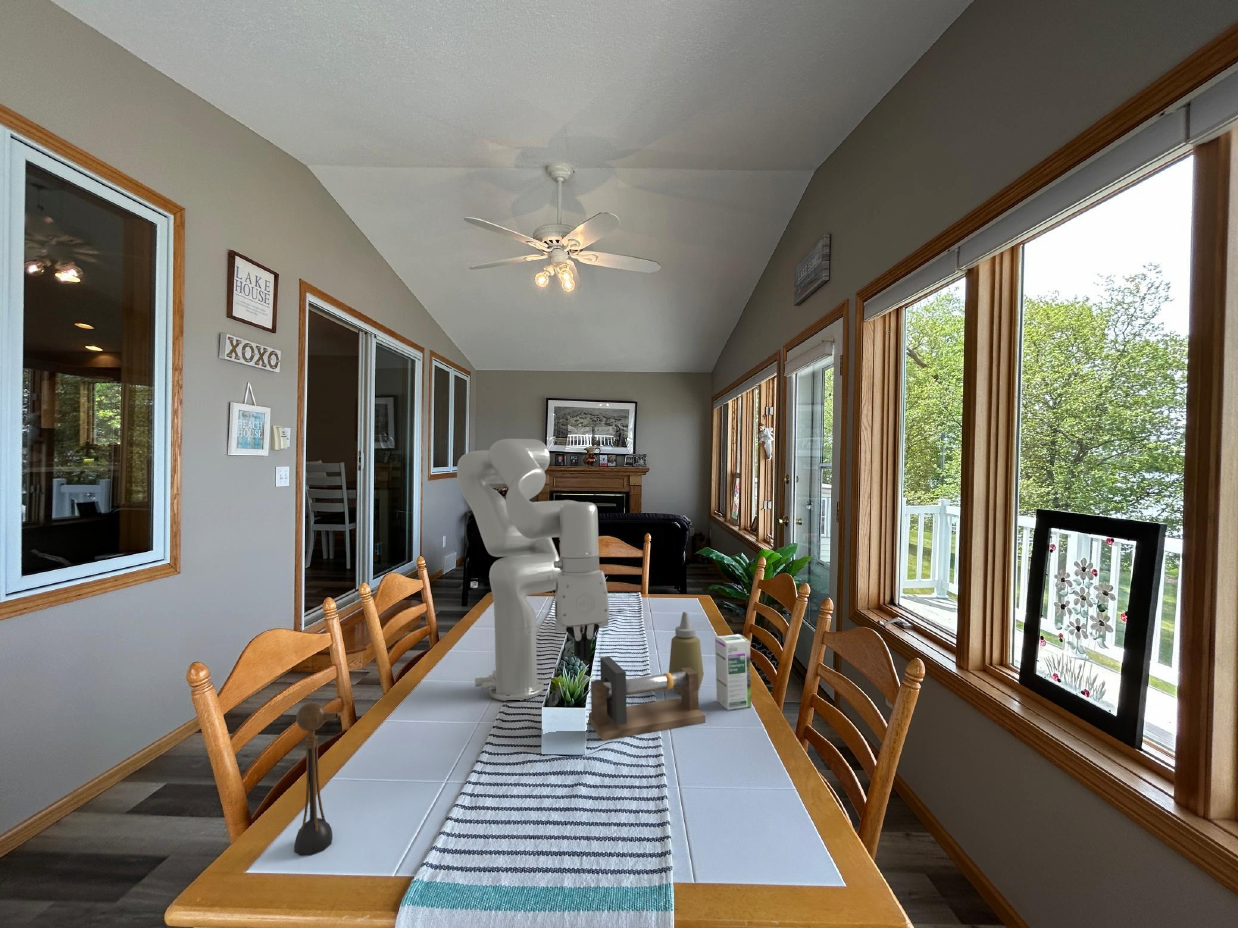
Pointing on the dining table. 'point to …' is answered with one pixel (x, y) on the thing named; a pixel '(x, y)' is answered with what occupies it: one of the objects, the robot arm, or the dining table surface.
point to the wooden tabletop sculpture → (313, 783)
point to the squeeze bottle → (686, 650)
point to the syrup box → (733, 671)
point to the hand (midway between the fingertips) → (582, 658)
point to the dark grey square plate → (615, 689)
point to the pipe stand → (648, 705)
